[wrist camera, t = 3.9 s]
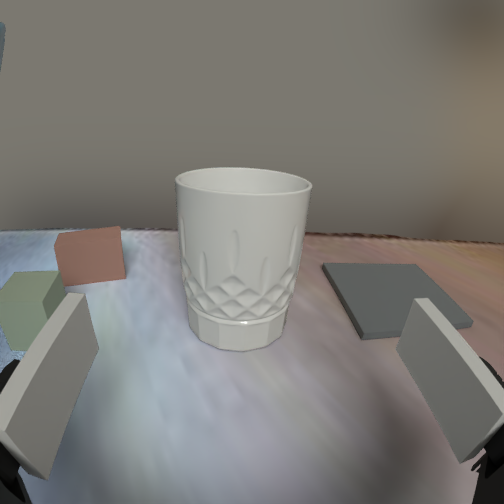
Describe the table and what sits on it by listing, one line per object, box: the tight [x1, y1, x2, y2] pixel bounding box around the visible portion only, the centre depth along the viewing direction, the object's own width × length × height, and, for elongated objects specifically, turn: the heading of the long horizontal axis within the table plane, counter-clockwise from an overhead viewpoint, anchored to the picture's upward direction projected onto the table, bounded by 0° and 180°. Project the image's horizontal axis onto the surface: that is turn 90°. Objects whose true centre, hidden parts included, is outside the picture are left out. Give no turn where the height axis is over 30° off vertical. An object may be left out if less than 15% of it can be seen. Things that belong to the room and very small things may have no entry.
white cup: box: [175, 167, 312, 352], centre depth 20 cm, size 8×8×10 cm
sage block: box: [0, 270, 66, 351], centre depth 17 cm, size 4×4×4 cm
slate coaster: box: [322, 263, 473, 340], centre depth 26 cm, size 11×11×1 cm
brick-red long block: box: [54, 226, 126, 287], centre depth 26 cm, size 6×3×4 cm, turn 114°
